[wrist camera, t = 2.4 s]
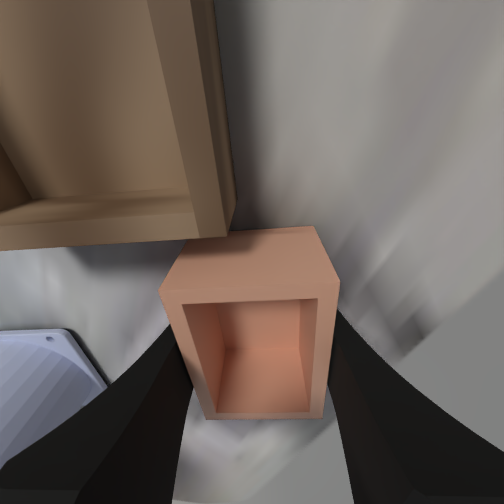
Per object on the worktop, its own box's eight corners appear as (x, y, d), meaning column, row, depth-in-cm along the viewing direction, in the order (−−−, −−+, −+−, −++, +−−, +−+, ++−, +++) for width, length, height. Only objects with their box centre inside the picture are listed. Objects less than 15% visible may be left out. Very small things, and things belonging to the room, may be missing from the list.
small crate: (219, 348, 15) (206, 419, 11) (191, 233, 11) (157, 290, 7) (307, 345, 14) (322, 418, 11) (313, 225, 10) (340, 281, 7)
